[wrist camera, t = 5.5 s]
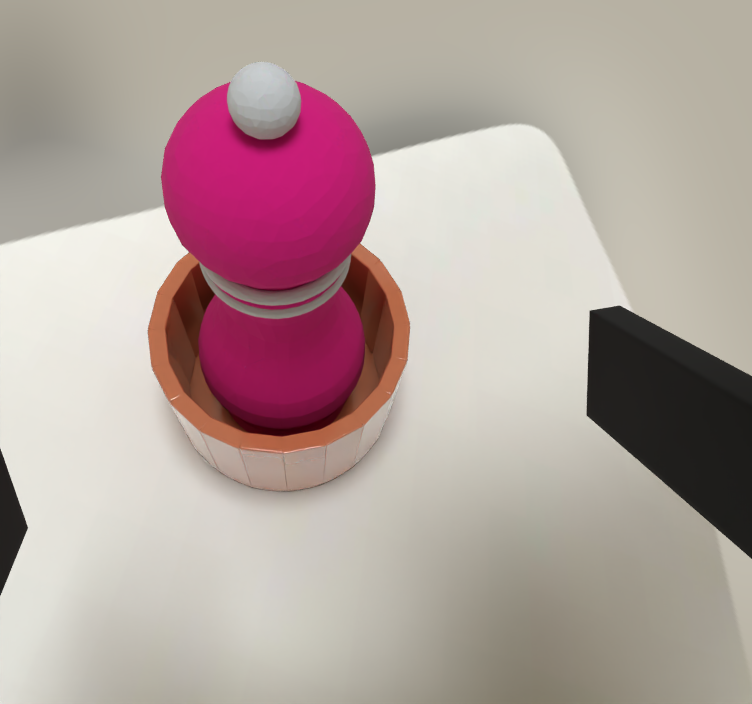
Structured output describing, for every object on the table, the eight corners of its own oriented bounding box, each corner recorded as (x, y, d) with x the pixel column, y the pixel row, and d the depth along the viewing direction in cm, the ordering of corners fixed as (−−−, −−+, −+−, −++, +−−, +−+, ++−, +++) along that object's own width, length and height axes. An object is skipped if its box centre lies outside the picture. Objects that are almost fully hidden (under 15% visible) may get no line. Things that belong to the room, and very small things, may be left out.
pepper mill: (180, 392, 33) (27, 79, 15) (278, 292, 36) (249, -76, 18) (294, 484, 32) (278, 264, 14) (387, 374, 35) (476, 67, 16)
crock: (429, 425, 34) (457, 374, 28) (237, 533, 31) (219, 503, 25) (327, 264, 37) (331, 185, 31) (143, 347, 35) (107, 279, 28)
